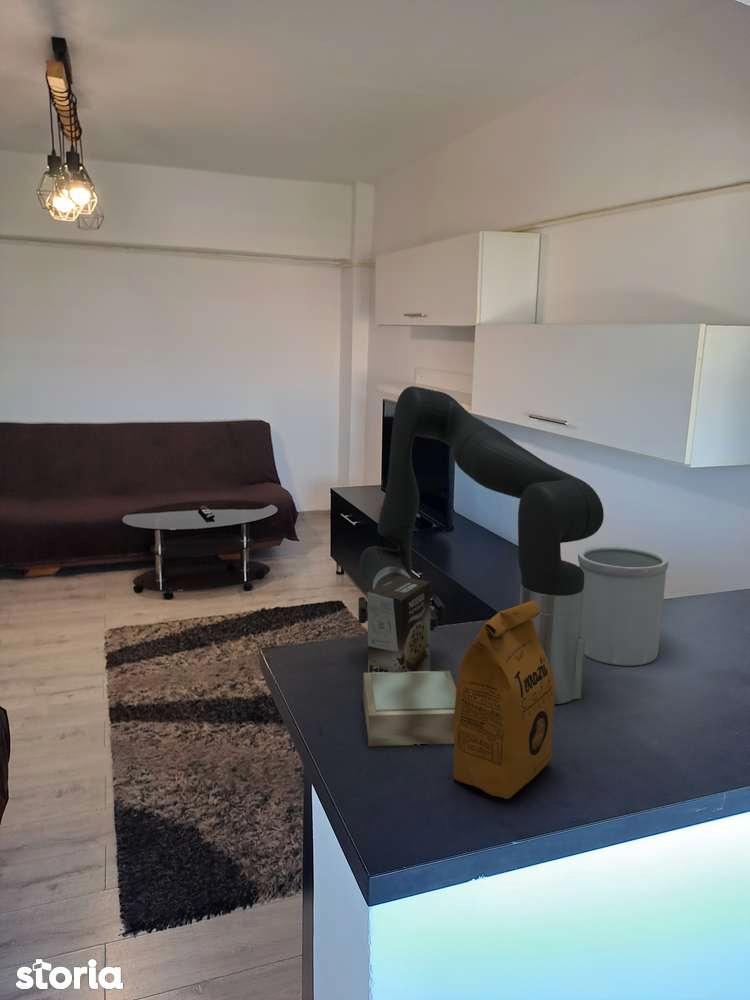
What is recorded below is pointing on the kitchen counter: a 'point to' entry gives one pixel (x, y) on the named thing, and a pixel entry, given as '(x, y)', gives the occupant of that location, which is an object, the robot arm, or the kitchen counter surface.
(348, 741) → the kitchen counter surface
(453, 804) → the kitchen counter surface
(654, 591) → the utensil holder
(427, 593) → the coffee box
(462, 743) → the coffee package
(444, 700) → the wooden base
